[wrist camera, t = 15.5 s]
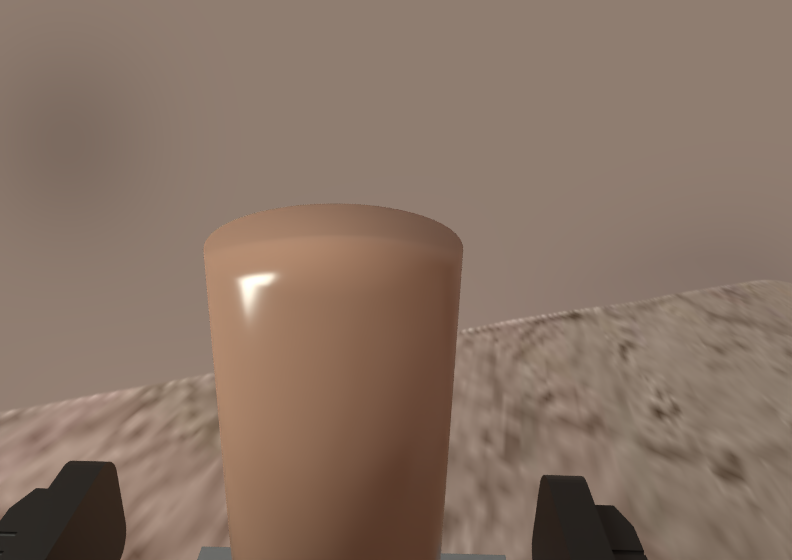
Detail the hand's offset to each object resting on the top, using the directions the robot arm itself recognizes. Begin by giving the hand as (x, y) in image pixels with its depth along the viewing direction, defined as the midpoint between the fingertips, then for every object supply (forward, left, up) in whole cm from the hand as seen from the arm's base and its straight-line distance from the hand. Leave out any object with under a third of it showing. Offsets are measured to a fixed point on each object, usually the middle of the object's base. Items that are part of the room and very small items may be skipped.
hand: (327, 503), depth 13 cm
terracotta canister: (0, -3, -10) cm, 10 cm away
